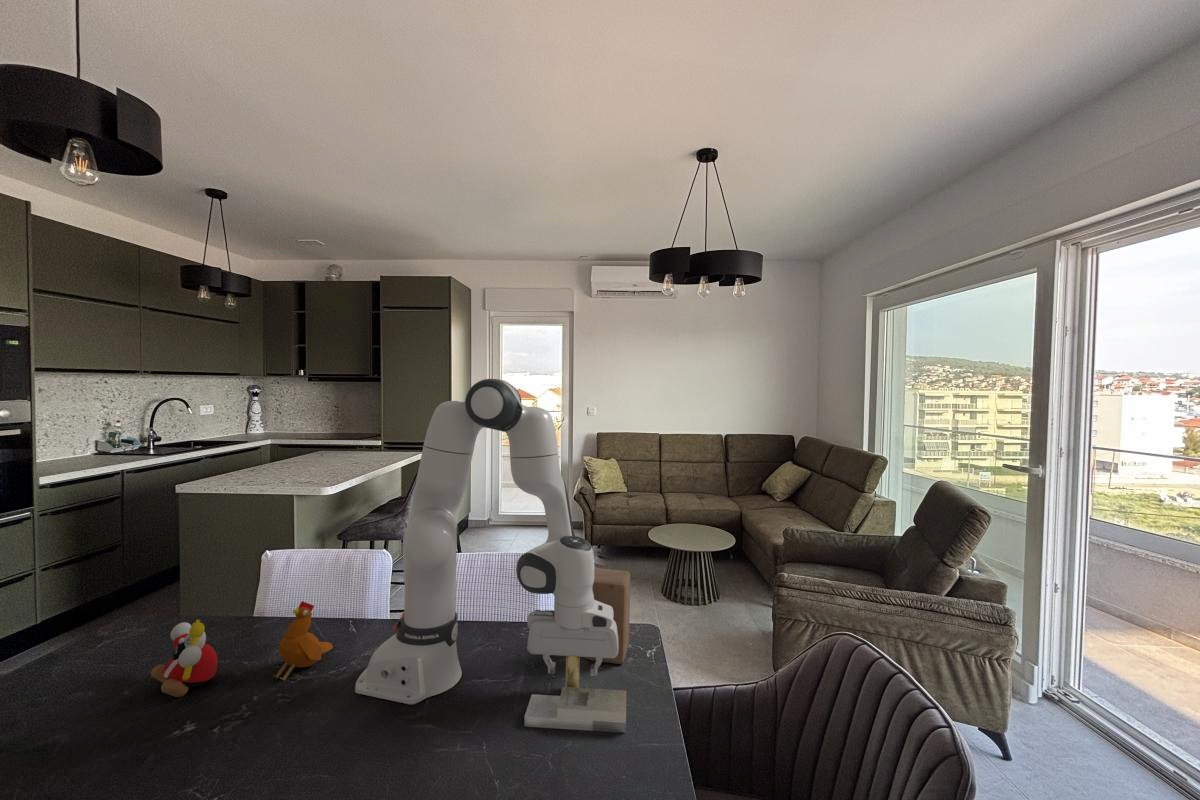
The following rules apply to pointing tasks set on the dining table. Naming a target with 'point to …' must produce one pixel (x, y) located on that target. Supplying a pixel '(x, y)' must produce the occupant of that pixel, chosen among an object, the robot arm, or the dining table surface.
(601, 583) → the wooden block
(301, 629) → the toy
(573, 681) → the pin
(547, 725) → the stepped socket block
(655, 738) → the dining table surface
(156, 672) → the toy
